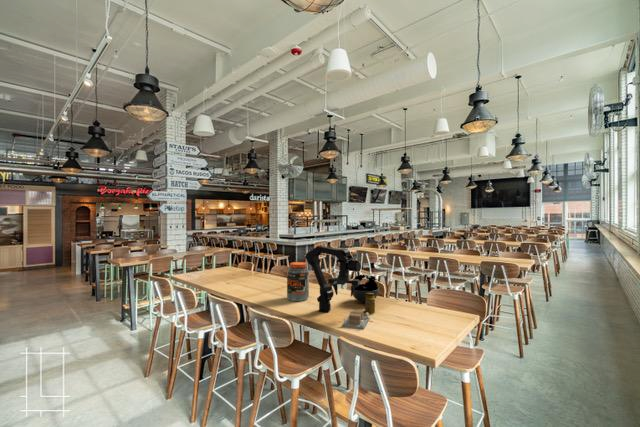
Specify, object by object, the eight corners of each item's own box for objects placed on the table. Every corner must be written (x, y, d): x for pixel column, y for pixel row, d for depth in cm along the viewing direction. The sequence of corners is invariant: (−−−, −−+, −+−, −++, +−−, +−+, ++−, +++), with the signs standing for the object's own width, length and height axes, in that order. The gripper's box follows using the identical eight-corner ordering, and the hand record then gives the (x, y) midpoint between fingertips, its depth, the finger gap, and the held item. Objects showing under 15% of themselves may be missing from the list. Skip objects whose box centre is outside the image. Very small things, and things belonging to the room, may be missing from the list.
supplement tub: (284, 301, 208) (284, 264, 208) (290, 295, 224) (290, 261, 224) (306, 302, 206) (306, 265, 206) (310, 296, 221) (310, 261, 221)
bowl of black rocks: (351, 297, 219) (351, 272, 219) (378, 298, 216) (378, 272, 216) (349, 305, 199) (350, 277, 199) (380, 307, 196) (380, 278, 196)
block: (359, 324, 162) (359, 316, 162) (349, 323, 164) (349, 315, 164) (363, 318, 171) (363, 310, 171) (353, 317, 173) (353, 309, 173)
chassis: (363, 329, 158) (363, 321, 158) (342, 326, 162) (342, 318, 162) (369, 319, 173) (369, 312, 173) (349, 316, 177) (349, 310, 177)
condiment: (377, 312, 185) (377, 293, 185) (367, 315, 180) (367, 295, 180) (369, 309, 191) (369, 291, 191) (359, 312, 186) (359, 293, 186)
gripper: (325, 271, 176) (325, 297, 175) (355, 273, 169) (355, 300, 169) (331, 268, 186) (331, 292, 186) (360, 270, 179) (360, 295, 179)
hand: (344, 295), depth 180 cm, fingers open, 9 cm apart
